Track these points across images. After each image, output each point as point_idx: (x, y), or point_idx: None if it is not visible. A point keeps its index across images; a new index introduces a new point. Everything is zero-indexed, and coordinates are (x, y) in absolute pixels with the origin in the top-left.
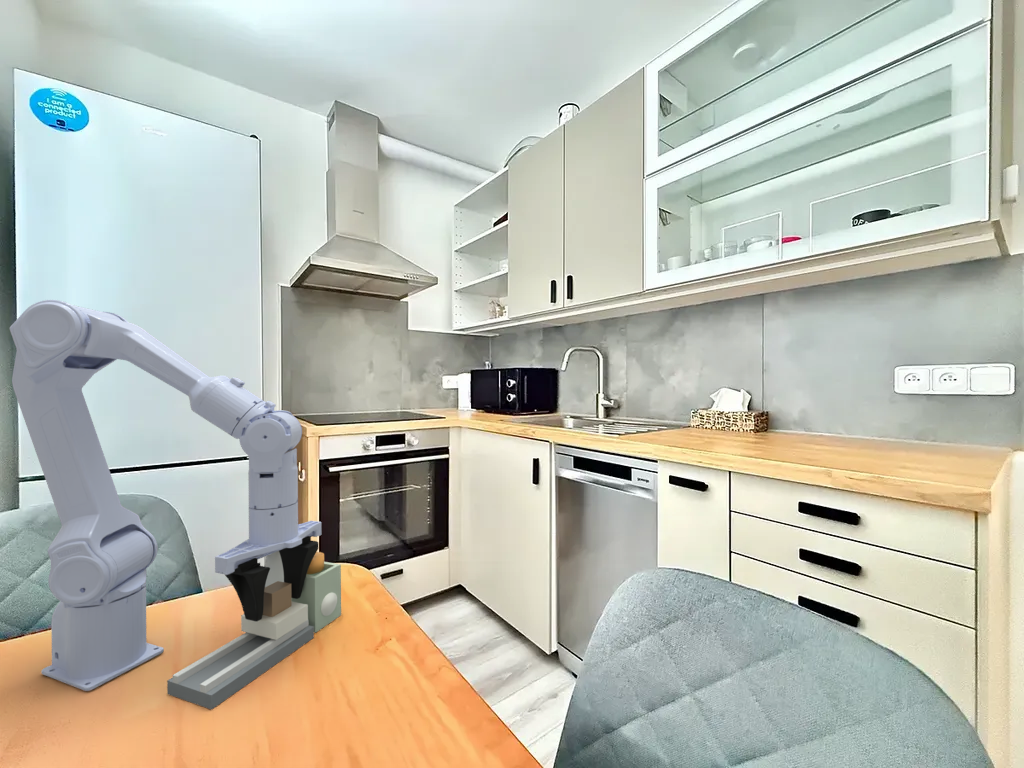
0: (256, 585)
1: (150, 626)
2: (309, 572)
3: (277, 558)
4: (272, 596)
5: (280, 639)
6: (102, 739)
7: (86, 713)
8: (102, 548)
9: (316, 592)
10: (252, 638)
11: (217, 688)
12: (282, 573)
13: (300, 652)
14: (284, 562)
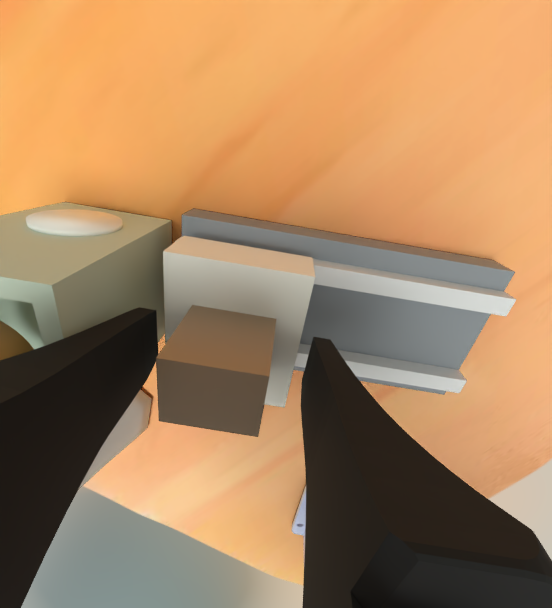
0: (425, 459)
1: (251, 515)
2: (23, 350)
3: None
4: (266, 366)
5: None
6: (546, 382)
7: (472, 444)
8: None
9: (94, 255)
10: None
11: (488, 277)
12: None
13: (263, 200)
14: (70, 485)
